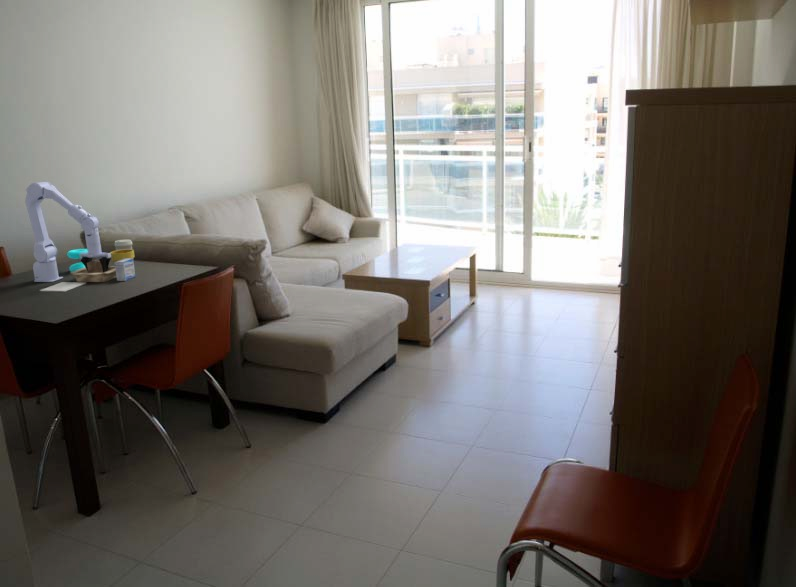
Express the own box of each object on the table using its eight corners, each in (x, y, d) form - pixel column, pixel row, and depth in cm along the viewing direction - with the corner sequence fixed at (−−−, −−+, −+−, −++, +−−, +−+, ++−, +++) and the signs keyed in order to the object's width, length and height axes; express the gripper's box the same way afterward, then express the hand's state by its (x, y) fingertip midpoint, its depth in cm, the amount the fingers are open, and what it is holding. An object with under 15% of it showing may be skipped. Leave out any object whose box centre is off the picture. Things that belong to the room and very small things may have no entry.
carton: (67, 282, 302) (66, 273, 301) (92, 274, 319) (90, 265, 317) (106, 283, 298) (104, 274, 297) (128, 274, 314) (127, 265, 313)
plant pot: (110, 274, 315) (107, 254, 313) (116, 270, 325) (113, 249, 322) (134, 273, 317) (131, 252, 314) (138, 268, 326) (135, 248, 324)
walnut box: (89, 280, 306) (86, 262, 303) (99, 276, 312) (96, 259, 310) (98, 280, 305) (95, 262, 303) (108, 276, 311) (105, 259, 309)
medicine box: (125, 281, 301) (123, 262, 299) (116, 281, 302) (114, 262, 300) (136, 277, 309) (133, 258, 306) (127, 276, 310) (124, 258, 307)
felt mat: (40, 291, 289) (39, 290, 289) (62, 283, 302) (62, 282, 302) (64, 291, 287) (64, 290, 287) (86, 283, 300) (85, 282, 300)
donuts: (94, 249, 326) (75, 253, 318) (97, 269, 328) (78, 273, 320) (80, 247, 331) (61, 251, 323) (84, 267, 333) (65, 272, 325)
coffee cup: (119, 263, 340) (116, 239, 337) (137, 262, 341) (134, 238, 338) (114, 267, 332) (111, 242, 329) (133, 265, 333) (129, 241, 330)
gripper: (73, 245, 302) (78, 275, 306) (102, 245, 299) (106, 275, 302) (83, 242, 309) (88, 271, 312) (112, 242, 306) (116, 271, 309)
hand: (98, 273), depth 308 cm, fingers open, 7 cm apart
